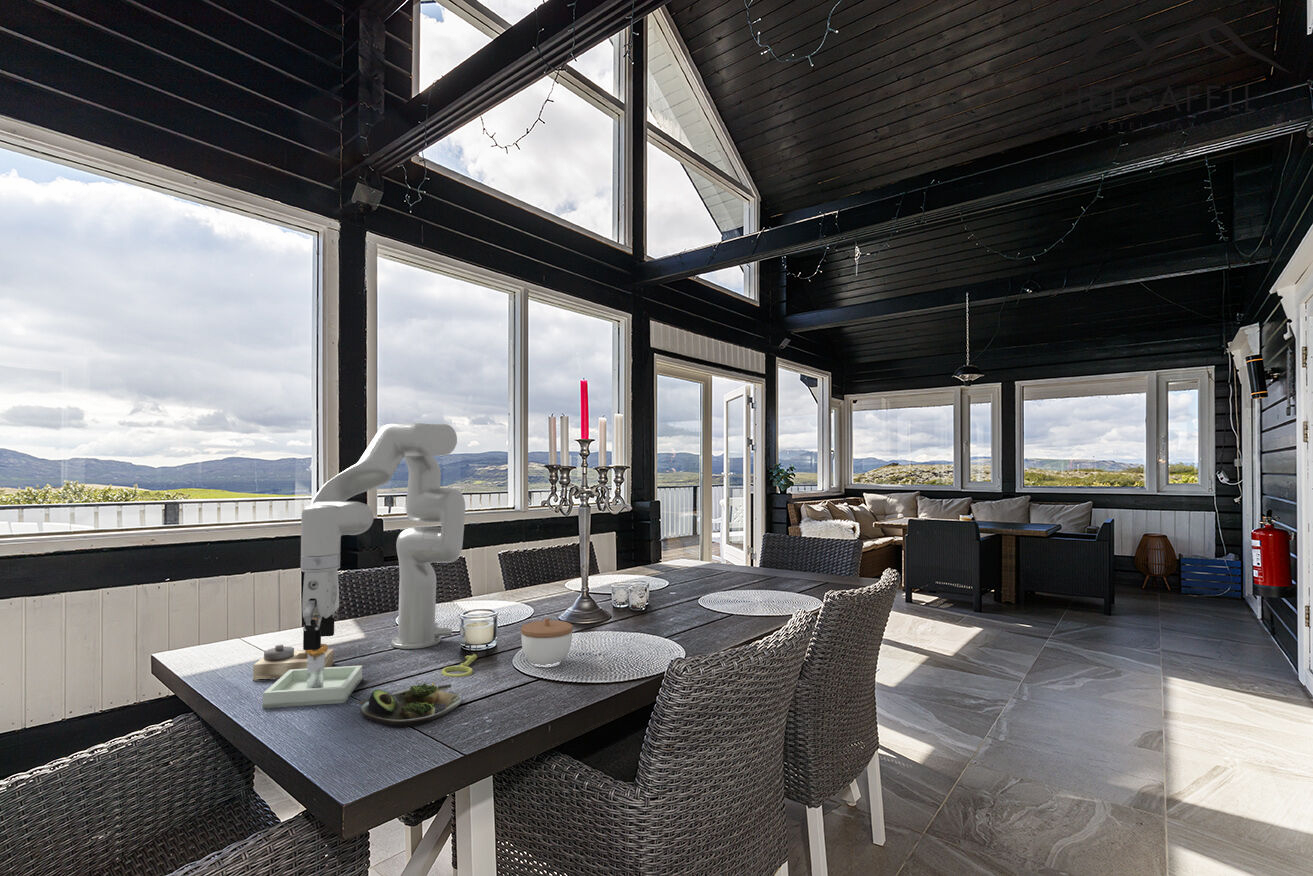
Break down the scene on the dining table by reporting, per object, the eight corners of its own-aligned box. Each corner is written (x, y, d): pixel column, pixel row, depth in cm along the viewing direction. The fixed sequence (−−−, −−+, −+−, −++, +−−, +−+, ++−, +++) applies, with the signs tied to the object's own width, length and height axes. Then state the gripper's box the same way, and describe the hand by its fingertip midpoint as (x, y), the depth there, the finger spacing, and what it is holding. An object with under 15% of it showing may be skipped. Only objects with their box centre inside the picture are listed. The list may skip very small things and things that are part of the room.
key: (477, 662, 157) (477, 653, 157) (471, 678, 145) (471, 669, 145) (447, 663, 156) (447, 654, 156) (439, 680, 144) (439, 670, 144)
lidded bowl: (537, 675, 146) (538, 627, 147) (510, 662, 156) (511, 617, 156) (582, 664, 155) (582, 619, 155) (554, 653, 164) (555, 610, 165)
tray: (361, 678, 143) (362, 665, 143) (344, 702, 128) (344, 687, 128) (289, 683, 139) (289, 669, 140) (262, 708, 125) (263, 693, 125)
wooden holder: (333, 663, 154) (334, 637, 154) (321, 676, 144) (321, 649, 144) (269, 666, 151) (270, 640, 151) (252, 680, 141) (254, 652, 141)
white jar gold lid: (328, 685, 136) (330, 643, 136) (322, 692, 132) (324, 648, 132) (307, 686, 135) (308, 644, 135) (300, 693, 131) (302, 649, 131)
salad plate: (424, 686, 139) (424, 665, 139) (483, 701, 131) (484, 678, 131) (343, 715, 122) (344, 691, 123) (406, 735, 114) (407, 709, 114)
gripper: (327, 568, 128) (326, 653, 127) (349, 555, 145) (348, 630, 144) (287, 570, 126) (285, 656, 126) (314, 556, 143) (312, 632, 142)
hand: (319, 642), depth 135 cm, fingers open, 9 cm apart
